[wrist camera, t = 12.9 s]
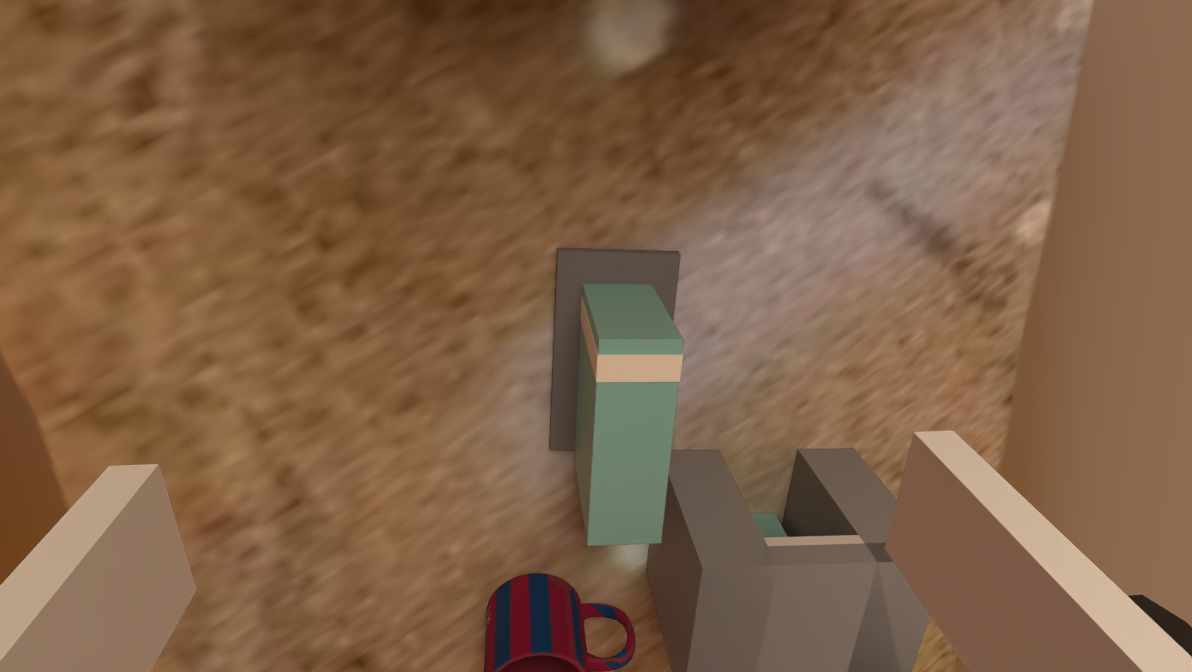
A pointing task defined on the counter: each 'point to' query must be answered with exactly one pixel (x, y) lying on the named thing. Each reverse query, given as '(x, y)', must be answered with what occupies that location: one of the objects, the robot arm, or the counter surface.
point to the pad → (570, 278)
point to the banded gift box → (625, 412)
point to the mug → (546, 628)
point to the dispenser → (782, 572)
